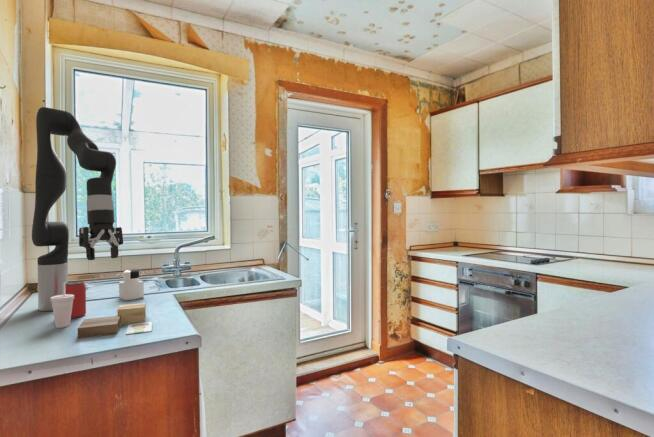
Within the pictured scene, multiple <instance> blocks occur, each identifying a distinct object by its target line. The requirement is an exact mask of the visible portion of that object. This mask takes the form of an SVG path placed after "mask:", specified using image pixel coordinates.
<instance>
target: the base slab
mask: <svg viewBox="0 0 654 437" xmlns="http://www.w3.org/2000/svg"><path fill="white" fill-rule="evenodd" d="M121 325H122V324H121V316H118V315H111V316H104V317H94V318H84V319H83V320H82V322H81V323H80V324H79V325H78V327H77V339H84V338H92V337H100V336H110V335H112V336H113V335H117V334H118V332H119V330H120V327H121Z"/></svg>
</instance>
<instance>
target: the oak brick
mask: <svg viewBox="0 0 654 437" xmlns="http://www.w3.org/2000/svg"><path fill="white" fill-rule="evenodd" d="M146 312H147V311H146V303H145V302H142V303H132V304H122V305H120V304H119V305H118V308H117V312H116V313H117V316H121V325H123V324H135V323H144V322H145V321H146V317H147V315H146Z"/></svg>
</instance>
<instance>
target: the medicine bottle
mask: <svg viewBox="0 0 654 437" xmlns="http://www.w3.org/2000/svg"><path fill="white" fill-rule="evenodd" d="M122 278H123V279H122V280H123V281H121V280H120V281H119V282H118V296H119V297H118V298H119V299H121V300H125V301H132V300H137V299H142V298H144V296H145V294H144V288H145V285H144V280H141V279H140V271H139V270H138V269H126V270H124V271H123V273H122Z"/></svg>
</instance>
